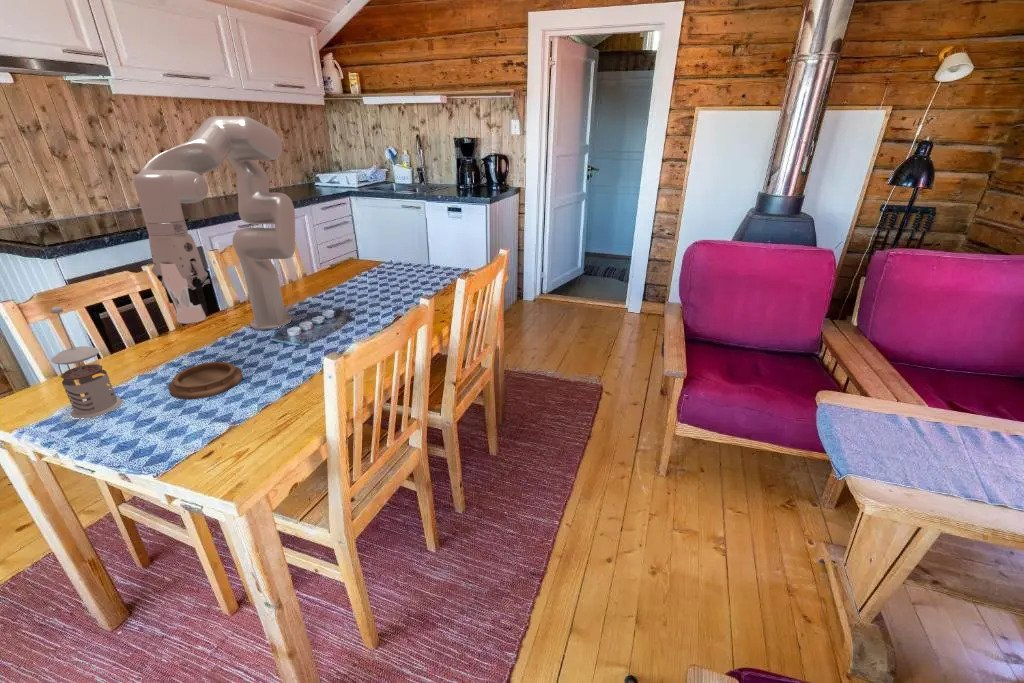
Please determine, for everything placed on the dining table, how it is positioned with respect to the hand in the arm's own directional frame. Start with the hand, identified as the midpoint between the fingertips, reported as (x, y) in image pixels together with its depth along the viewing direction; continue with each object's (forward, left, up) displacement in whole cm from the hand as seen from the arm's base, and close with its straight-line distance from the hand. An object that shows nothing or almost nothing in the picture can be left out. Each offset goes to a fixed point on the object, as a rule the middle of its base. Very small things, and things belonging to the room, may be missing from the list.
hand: (187, 302), depth 116 cm
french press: (+20, -13, -21) cm, 31 cm away
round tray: (+4, +3, -20) cm, 21 cm away
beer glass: (0, 0, -5) cm, 5 cm away
